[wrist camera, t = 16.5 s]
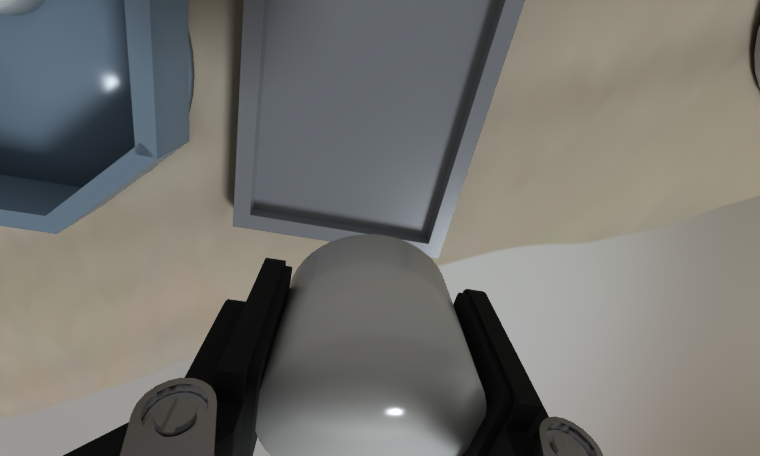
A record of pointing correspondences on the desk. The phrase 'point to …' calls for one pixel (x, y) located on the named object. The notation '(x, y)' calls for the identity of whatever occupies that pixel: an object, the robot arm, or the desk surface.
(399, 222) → the tray
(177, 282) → the desk surface
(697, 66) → the desk surface
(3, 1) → the pebble
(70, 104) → the bowl
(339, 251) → the pebble
